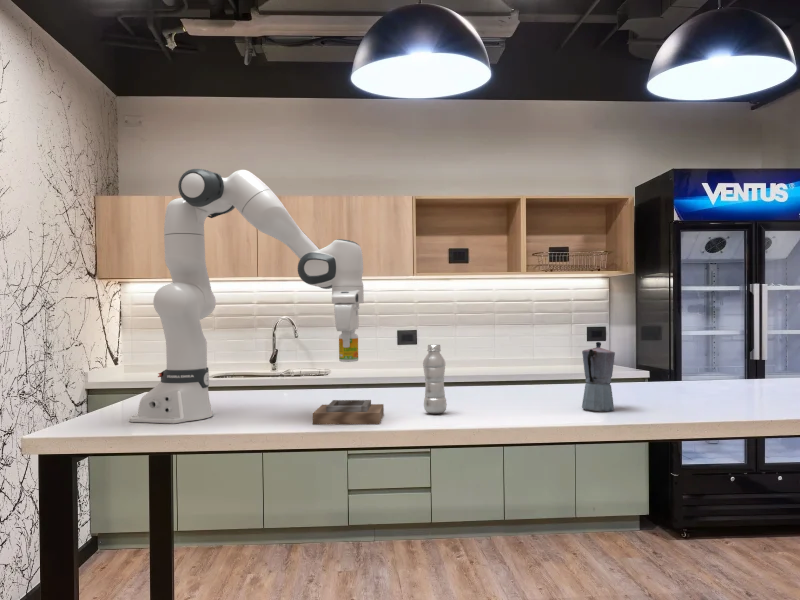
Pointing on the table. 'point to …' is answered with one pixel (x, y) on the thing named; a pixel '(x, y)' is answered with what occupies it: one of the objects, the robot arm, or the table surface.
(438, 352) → the plastic bottle
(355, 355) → the supplement bottle
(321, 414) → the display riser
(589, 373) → the moka pot
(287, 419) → the table surface
